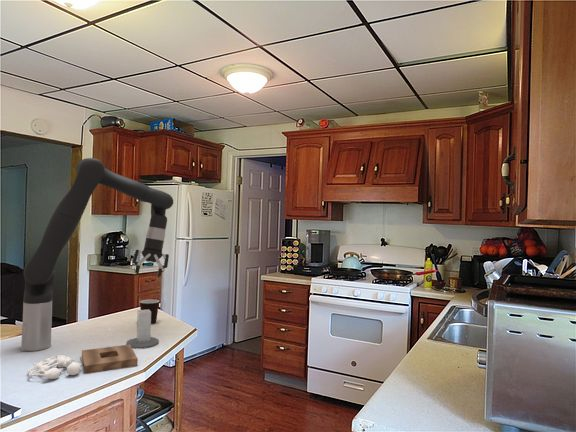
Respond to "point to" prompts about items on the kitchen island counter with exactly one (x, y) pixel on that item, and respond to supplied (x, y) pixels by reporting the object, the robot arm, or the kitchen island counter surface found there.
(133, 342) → the rubber pad
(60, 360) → the tangled rod sculpture
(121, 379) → the kitchen island counter surface
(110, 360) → the socket block
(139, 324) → the steel peg
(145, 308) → the coffee mug
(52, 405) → the kitchen island counter surface
